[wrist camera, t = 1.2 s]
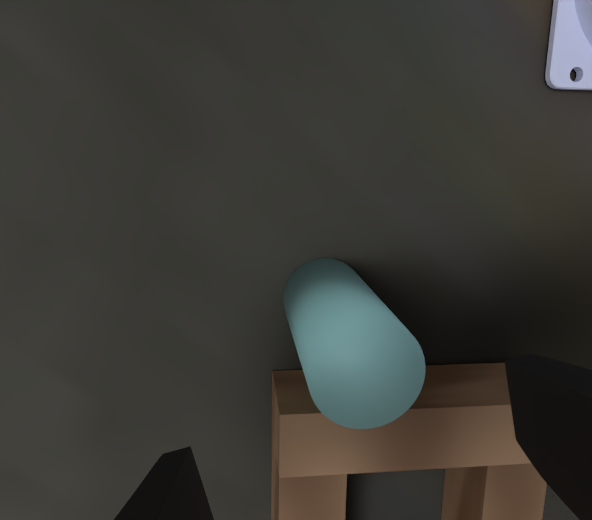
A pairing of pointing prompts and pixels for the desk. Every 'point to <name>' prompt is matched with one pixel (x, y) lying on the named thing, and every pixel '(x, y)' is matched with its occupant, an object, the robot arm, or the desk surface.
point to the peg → (351, 346)
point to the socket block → (407, 448)
